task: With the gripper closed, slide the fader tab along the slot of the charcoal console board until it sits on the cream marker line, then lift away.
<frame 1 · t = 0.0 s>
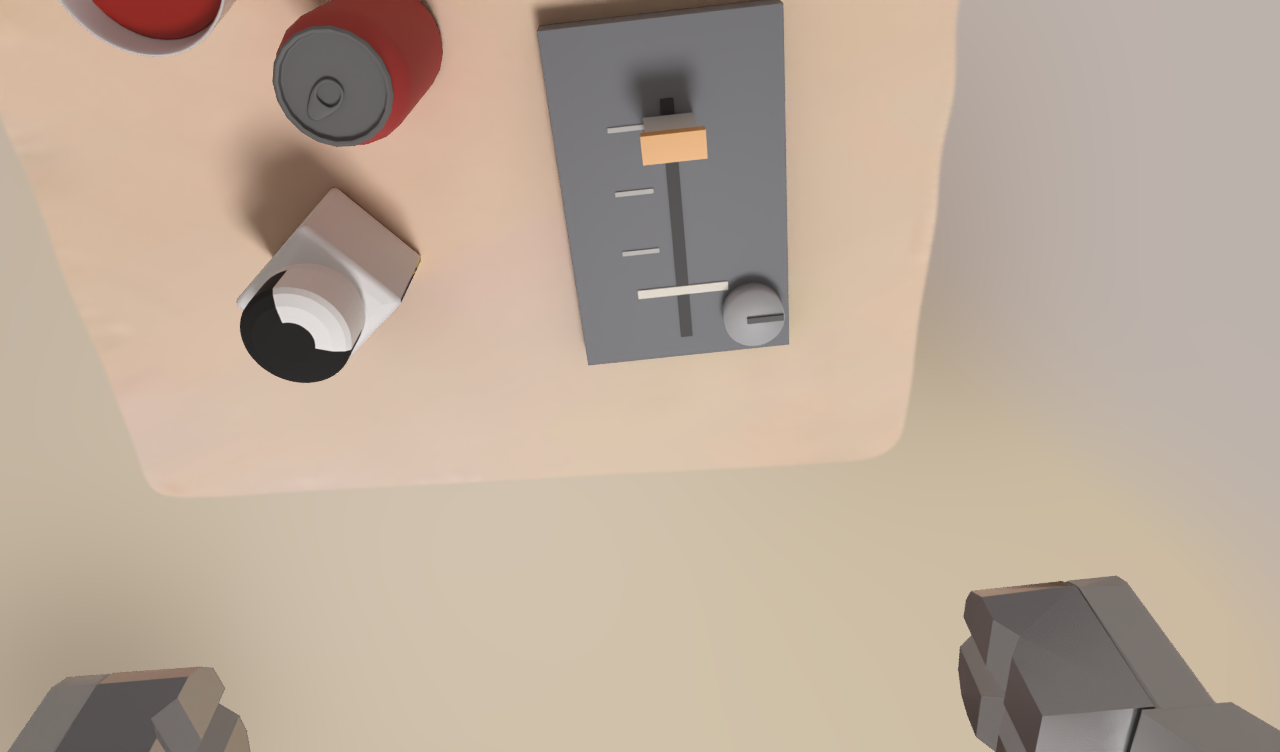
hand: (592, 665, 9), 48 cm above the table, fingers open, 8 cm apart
fader: (671, 136, 50), point 5 cm above the table, slide at 0.0 cm
console: (673, 193, 56), on the table
medicine bottle: (349, 256, 58), on the table
beer can: (388, 42, 51), on the table
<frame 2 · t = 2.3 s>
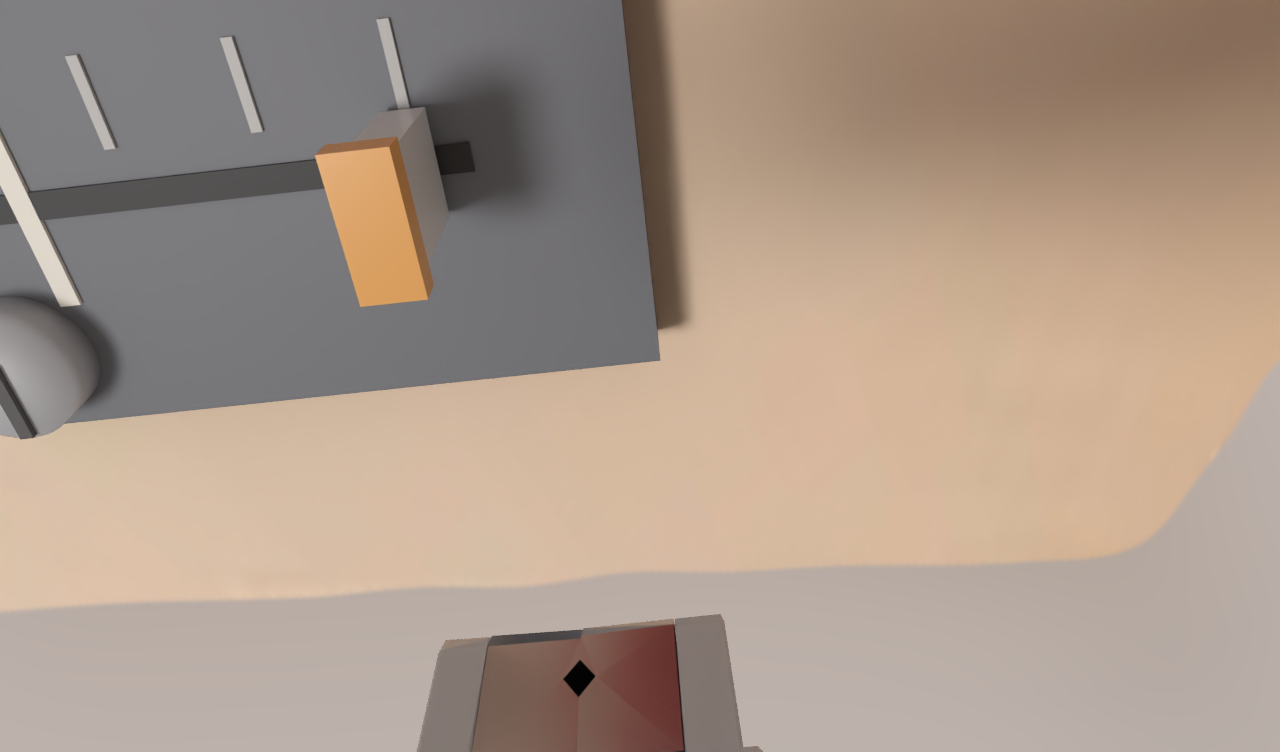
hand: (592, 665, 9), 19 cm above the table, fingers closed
fader: (396, 195, 21), point 5 cm above the table, slide at 0.0 cm
console: (263, 161, 26), on the table
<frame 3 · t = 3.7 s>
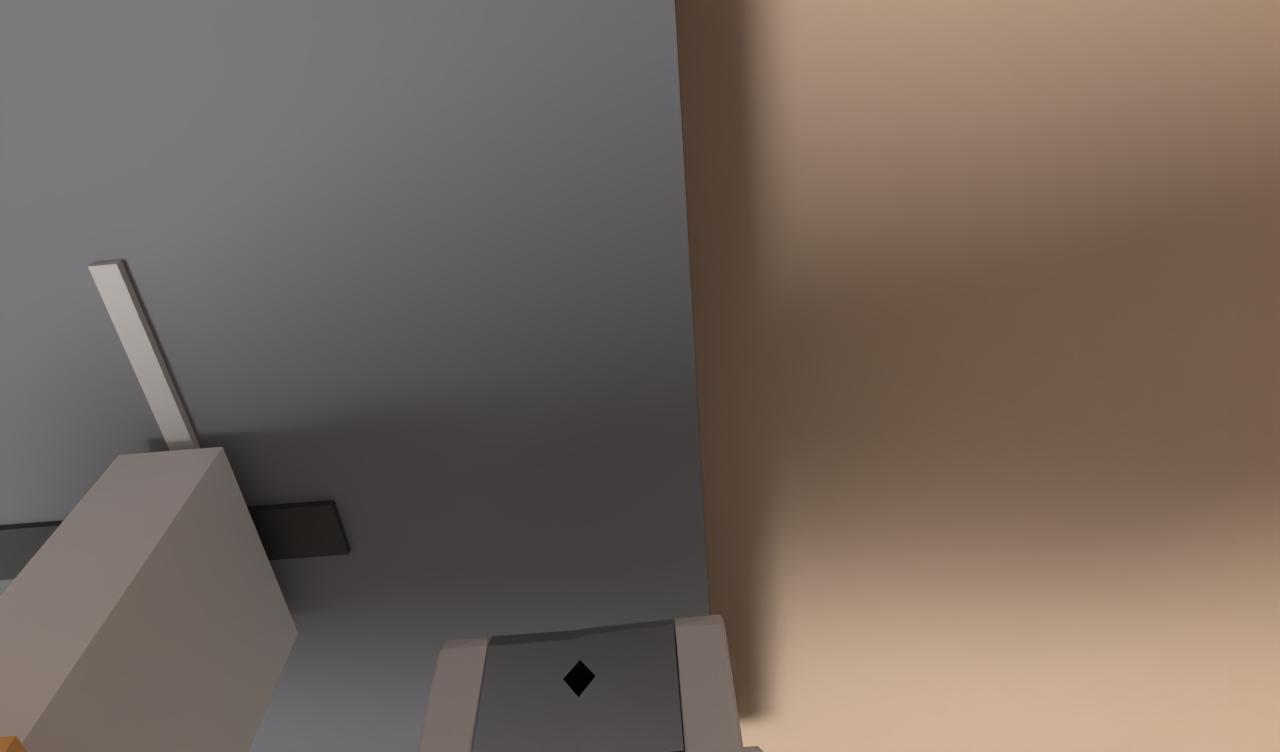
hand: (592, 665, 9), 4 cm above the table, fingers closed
fader: (116, 717, 9), point 5 cm above the table, slide at 0.0 cm
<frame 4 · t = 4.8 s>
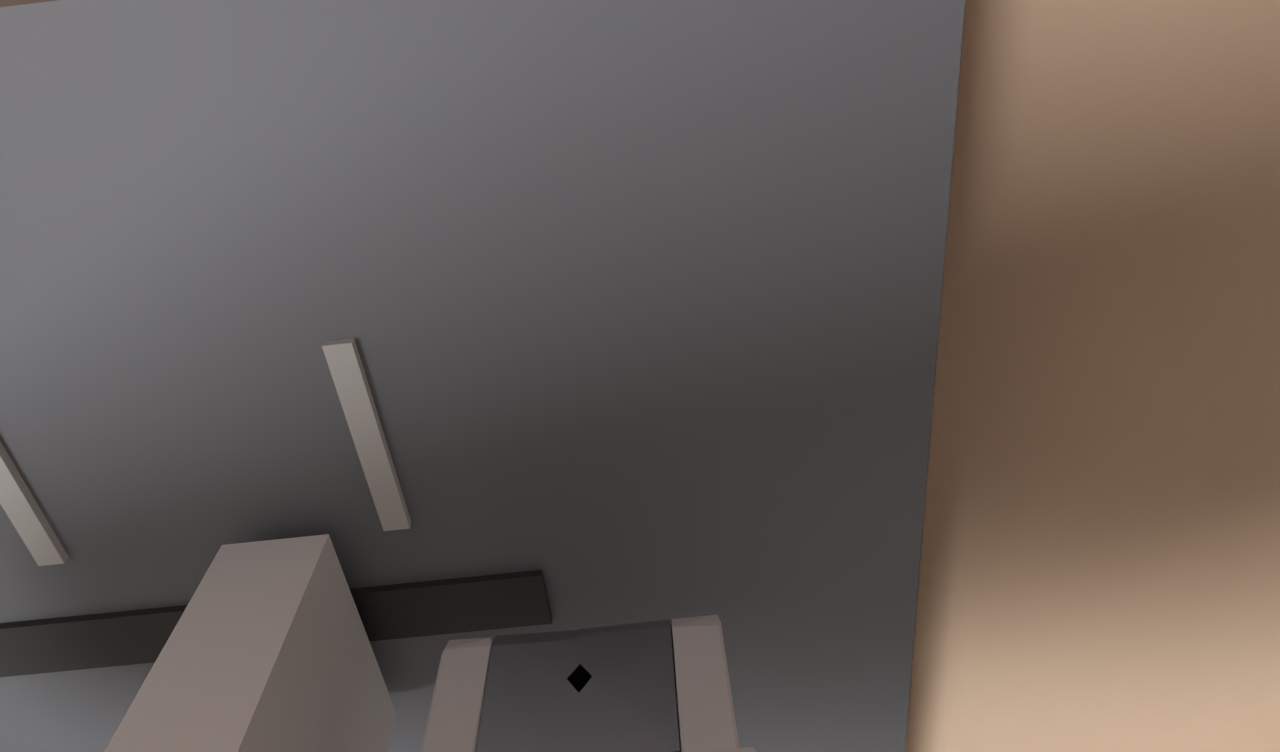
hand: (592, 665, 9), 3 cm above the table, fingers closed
console: (105, 536, 12), on the table
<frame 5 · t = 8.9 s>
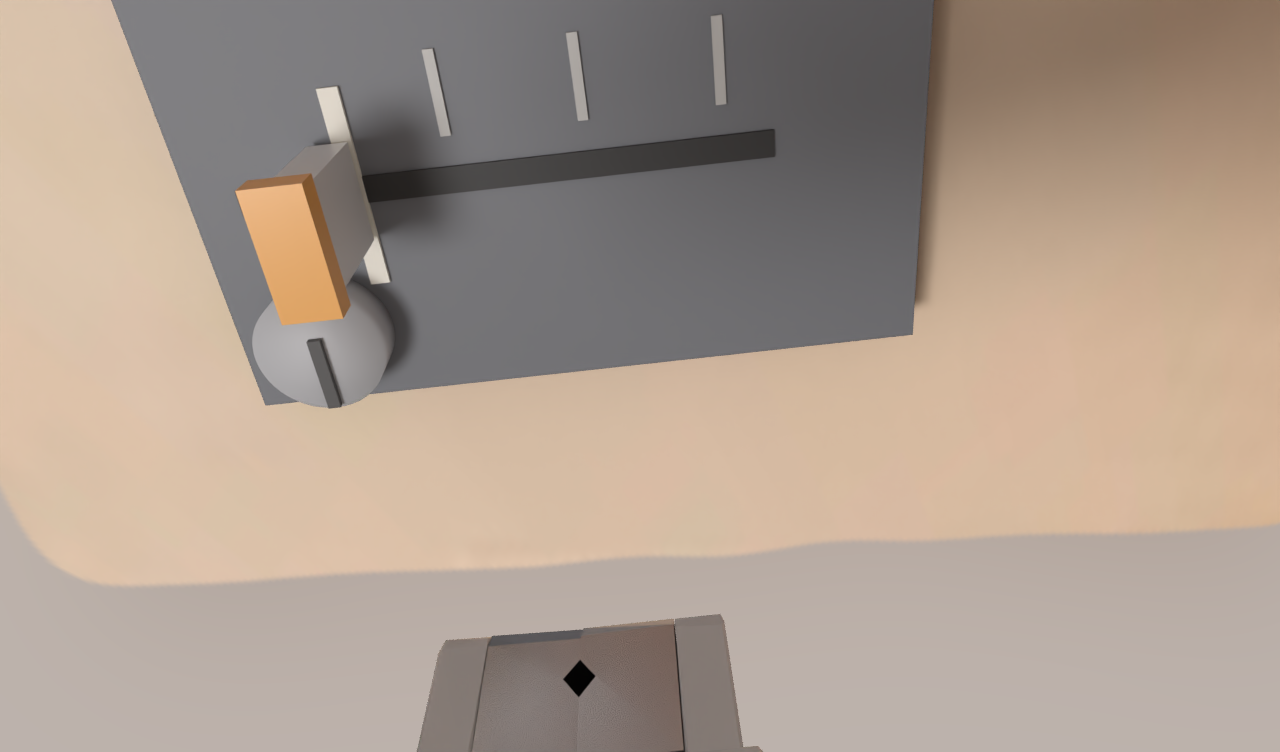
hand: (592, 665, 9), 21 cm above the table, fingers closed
fader: (318, 223, 24), point 5 cm above the table, slide at 11.4 cm
console: (558, 148, 28), on the table
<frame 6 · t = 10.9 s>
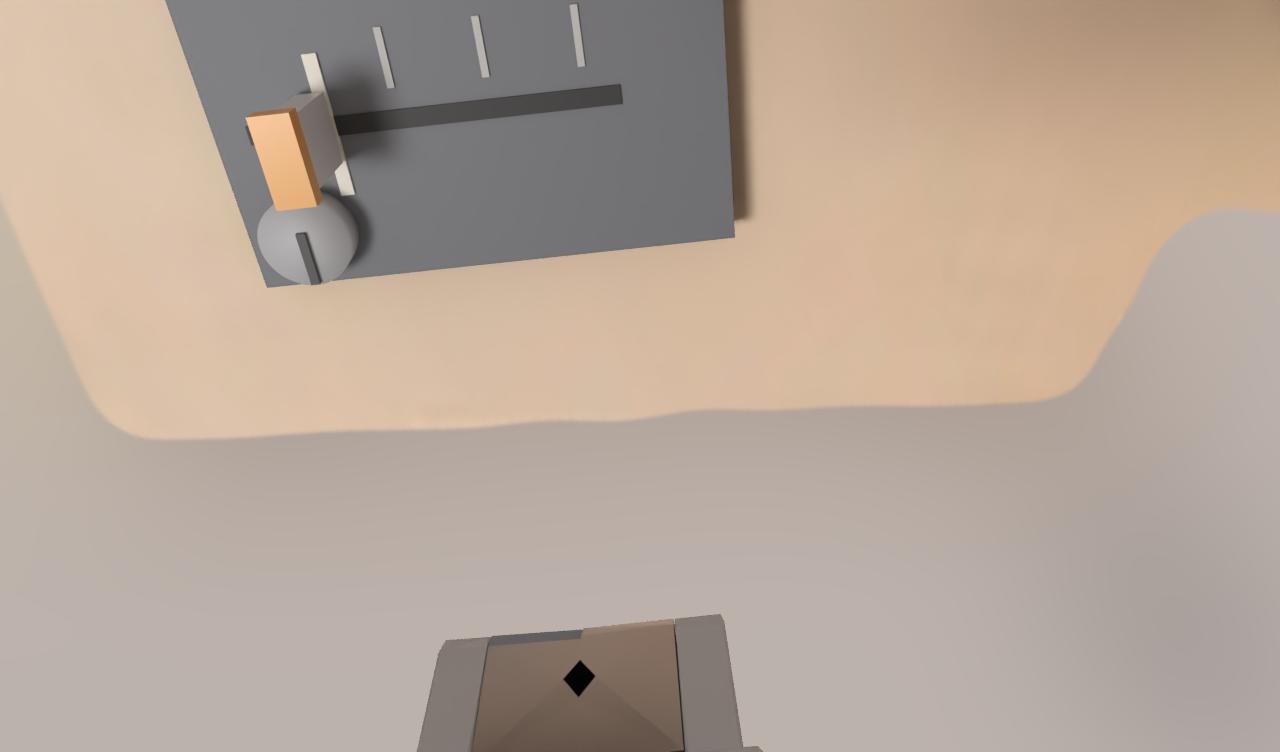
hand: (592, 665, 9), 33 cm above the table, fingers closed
fader: (301, 145, 35), point 5 cm above the table, slide at 11.4 cm
console: (475, 99, 39), on the table
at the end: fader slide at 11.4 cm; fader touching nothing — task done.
